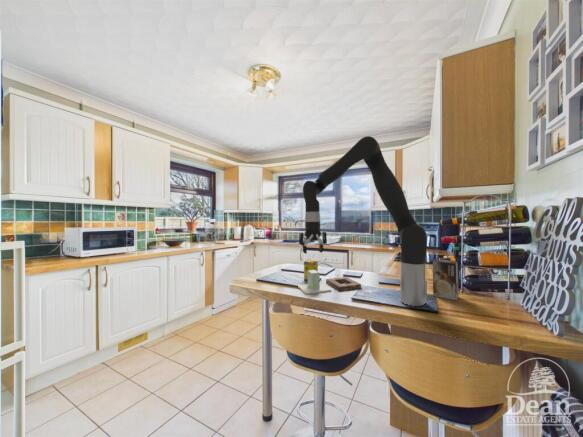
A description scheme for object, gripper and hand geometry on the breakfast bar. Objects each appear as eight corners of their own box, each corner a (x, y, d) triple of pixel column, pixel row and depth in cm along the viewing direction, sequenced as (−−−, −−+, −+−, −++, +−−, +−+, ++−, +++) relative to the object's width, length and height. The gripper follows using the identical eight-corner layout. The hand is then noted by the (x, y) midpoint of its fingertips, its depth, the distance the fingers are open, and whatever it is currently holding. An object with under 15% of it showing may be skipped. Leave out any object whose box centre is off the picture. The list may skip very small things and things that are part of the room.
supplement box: (312, 282, 129) (312, 262, 129) (303, 280, 133) (303, 261, 133) (318, 279, 134) (318, 260, 134) (309, 277, 138) (309, 259, 137)
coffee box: (458, 296, 104) (459, 261, 104) (456, 300, 100) (456, 263, 99) (435, 292, 111) (435, 258, 110) (432, 295, 106) (432, 260, 106)
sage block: (314, 285, 121) (314, 269, 121) (319, 288, 116) (319, 272, 115) (307, 285, 120) (307, 270, 120) (312, 289, 114) (312, 273, 114)
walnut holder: (346, 280, 132) (346, 276, 132) (361, 288, 118) (361, 284, 118) (326, 282, 128) (326, 279, 128) (339, 290, 114) (339, 286, 114)
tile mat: (319, 283, 126) (319, 282, 126) (330, 291, 114) (330, 289, 114) (297, 286, 122) (297, 284, 122) (306, 294, 110) (306, 292, 109)
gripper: (302, 221, 111) (302, 255, 112) (328, 220, 116) (329, 253, 116) (296, 221, 118) (297, 252, 119) (322, 220, 123) (322, 250, 123)
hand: (313, 252), depth 117 cm, fingers open, 8 cm apart
